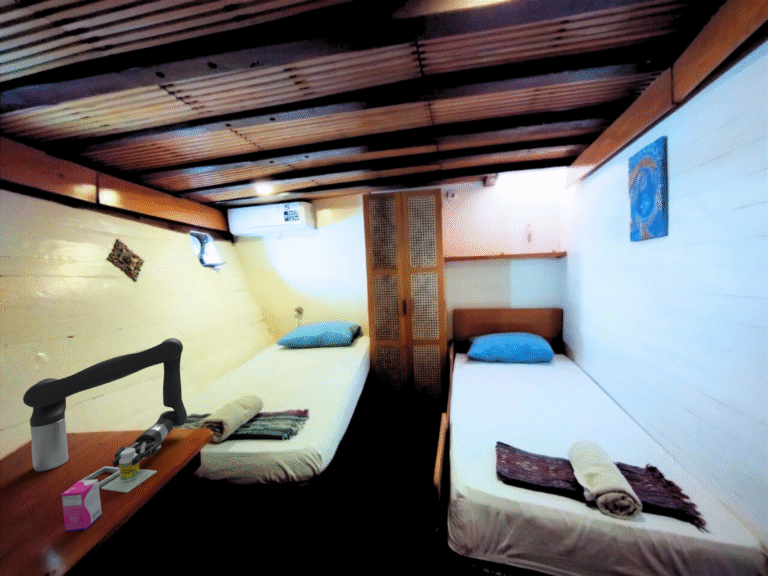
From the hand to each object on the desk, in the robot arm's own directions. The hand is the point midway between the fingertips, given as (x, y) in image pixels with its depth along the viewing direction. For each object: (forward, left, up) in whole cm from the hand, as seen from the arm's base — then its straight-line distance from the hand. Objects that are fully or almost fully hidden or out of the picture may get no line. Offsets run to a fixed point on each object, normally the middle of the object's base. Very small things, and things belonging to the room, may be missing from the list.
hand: (123, 463), depth 109 cm
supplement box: (+5, -16, -8) cm, 19 cm away
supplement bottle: (-1, +3, -7) cm, 7 cm away
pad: (-1, +2, -8) cm, 8 cm away
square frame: (-12, +1, -8) cm, 14 cm away
